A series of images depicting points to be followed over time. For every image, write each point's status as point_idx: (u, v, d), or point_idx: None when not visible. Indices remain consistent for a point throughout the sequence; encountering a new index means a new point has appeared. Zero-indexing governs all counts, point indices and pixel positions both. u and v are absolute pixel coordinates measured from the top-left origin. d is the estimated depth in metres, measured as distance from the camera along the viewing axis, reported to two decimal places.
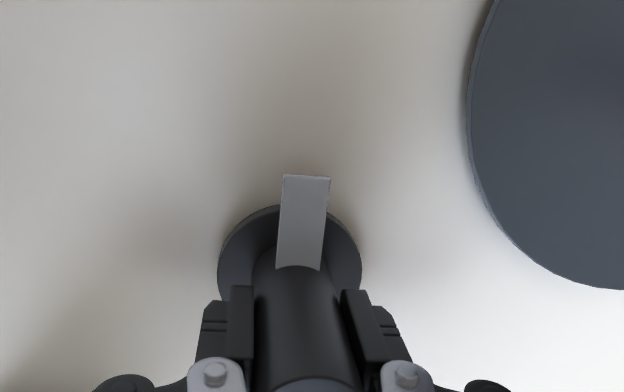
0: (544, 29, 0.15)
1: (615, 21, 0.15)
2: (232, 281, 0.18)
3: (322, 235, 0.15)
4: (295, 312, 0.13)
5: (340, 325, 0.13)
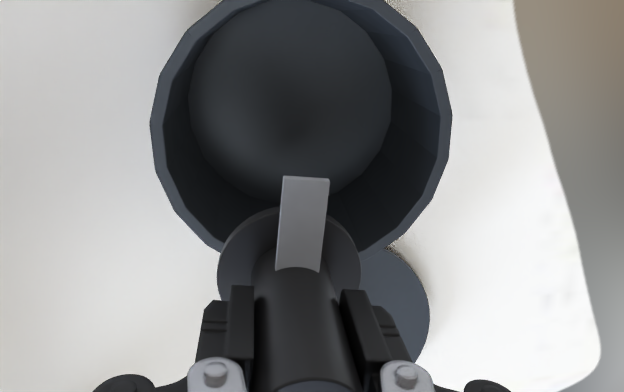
0: None
1: None
2: (232, 282, 0.18)
3: (322, 237, 0.15)
4: (294, 314, 0.13)
5: (339, 327, 0.13)
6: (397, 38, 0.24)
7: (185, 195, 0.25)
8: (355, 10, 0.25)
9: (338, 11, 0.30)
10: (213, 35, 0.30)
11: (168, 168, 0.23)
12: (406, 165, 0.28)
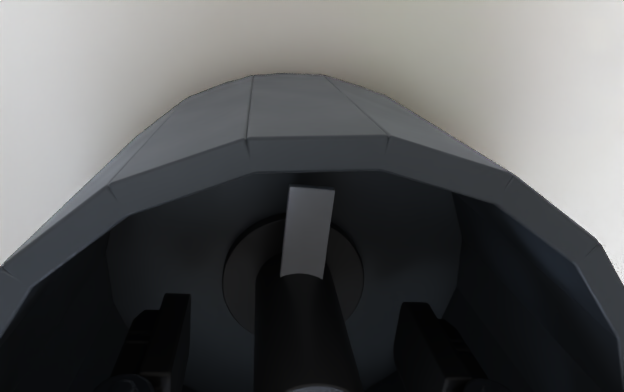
0: None
1: None
2: (237, 287, 0.18)
3: (326, 244, 0.16)
4: (298, 320, 0.13)
5: (343, 333, 0.14)
6: (523, 227, 0.11)
7: None
8: None
9: None
10: None
11: None
12: None
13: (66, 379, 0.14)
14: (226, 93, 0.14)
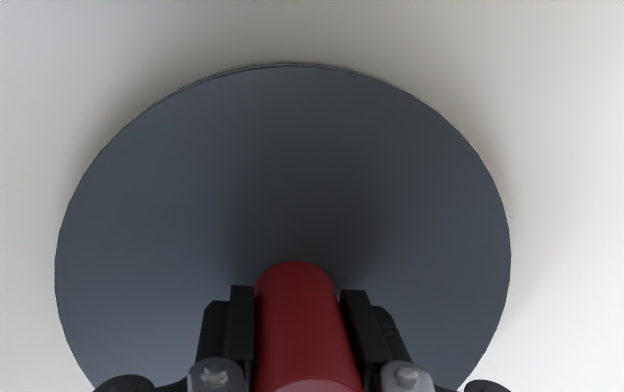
0: (115, 251, 0.15)
1: (191, 241, 0.15)
2: None
3: None
4: None
5: None
6: None
7: None
8: None
9: None
10: None
11: None
12: None
13: None
14: None
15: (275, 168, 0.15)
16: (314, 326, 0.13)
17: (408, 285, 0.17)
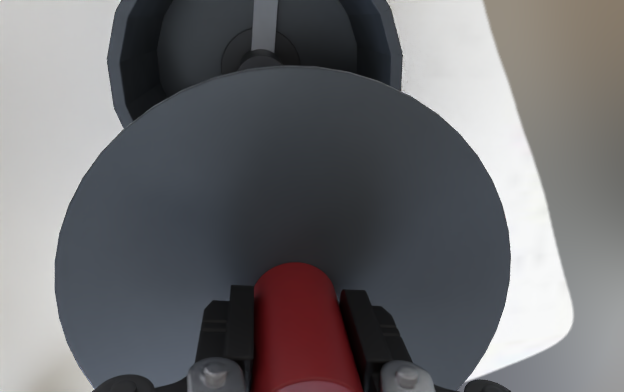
0: (115, 253, 0.15)
1: (191, 243, 0.15)
2: (229, 70, 0.32)
3: (275, 31, 0.30)
4: (258, 52, 0.28)
5: (280, 61, 0.28)
6: None
7: None
8: None
9: None
10: None
11: (127, 105, 0.24)
12: None
13: (144, 86, 0.28)
14: None
15: (275, 170, 0.15)
16: (314, 328, 0.13)
17: (408, 286, 0.17)
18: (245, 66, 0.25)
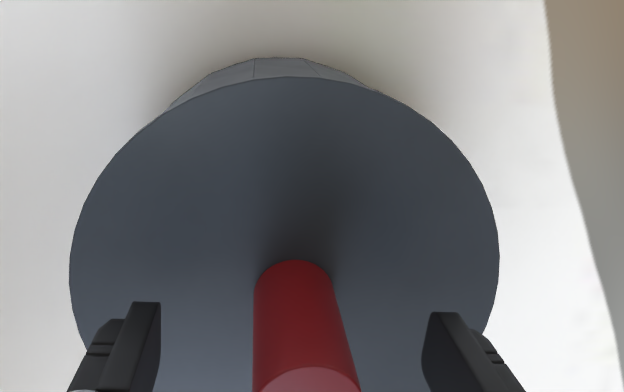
0: (126, 249, 0.16)
1: (198, 240, 0.16)
2: None
3: None
4: None
5: None
6: None
7: None
8: None
9: None
10: None
11: None
12: None
13: None
14: (238, 68, 0.21)
15: (278, 172, 0.16)
16: (313, 320, 0.14)
17: (402, 284, 0.18)
18: None
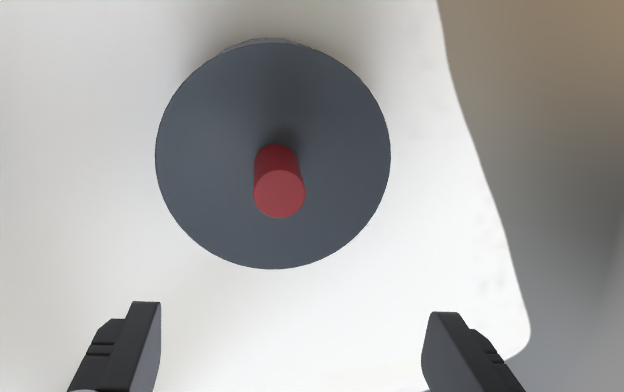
0: (186, 136, 0.30)
1: (224, 132, 0.31)
2: None
3: None
4: None
5: None
6: None
7: None
8: None
9: None
10: None
11: None
12: None
13: None
14: (243, 43, 0.35)
15: (266, 94, 0.30)
16: (283, 159, 0.28)
17: (336, 160, 0.32)
18: None
